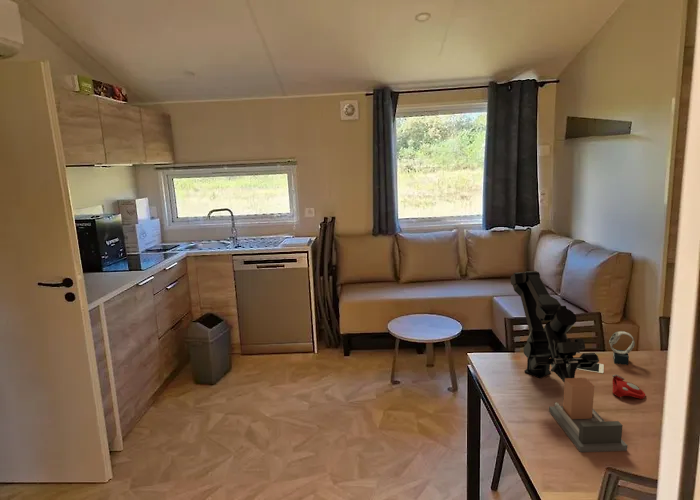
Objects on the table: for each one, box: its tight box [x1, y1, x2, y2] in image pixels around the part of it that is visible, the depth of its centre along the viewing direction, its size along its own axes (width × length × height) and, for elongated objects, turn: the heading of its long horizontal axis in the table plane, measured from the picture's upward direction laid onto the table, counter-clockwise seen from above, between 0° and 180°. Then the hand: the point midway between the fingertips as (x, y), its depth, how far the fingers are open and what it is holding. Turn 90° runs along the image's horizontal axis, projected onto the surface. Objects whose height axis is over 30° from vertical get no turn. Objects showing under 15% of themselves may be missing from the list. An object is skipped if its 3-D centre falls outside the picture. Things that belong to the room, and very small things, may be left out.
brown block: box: [562, 377, 595, 419], centre depth 137 cm, size 5×6×10 cm
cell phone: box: [576, 362, 605, 375], centre depth 173 cm, size 8×16×1 cm, turn 62°
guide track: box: [548, 402, 628, 453], centre depth 133 cm, size 20×12×6 cm, turn 0°
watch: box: [608, 330, 636, 366], centre depth 173 cm, size 6×8×11 cm
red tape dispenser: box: [611, 374, 646, 400], centre depth 153 cm, size 12×4×10 cm
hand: (571, 389), depth 141 cm, fingers closed
